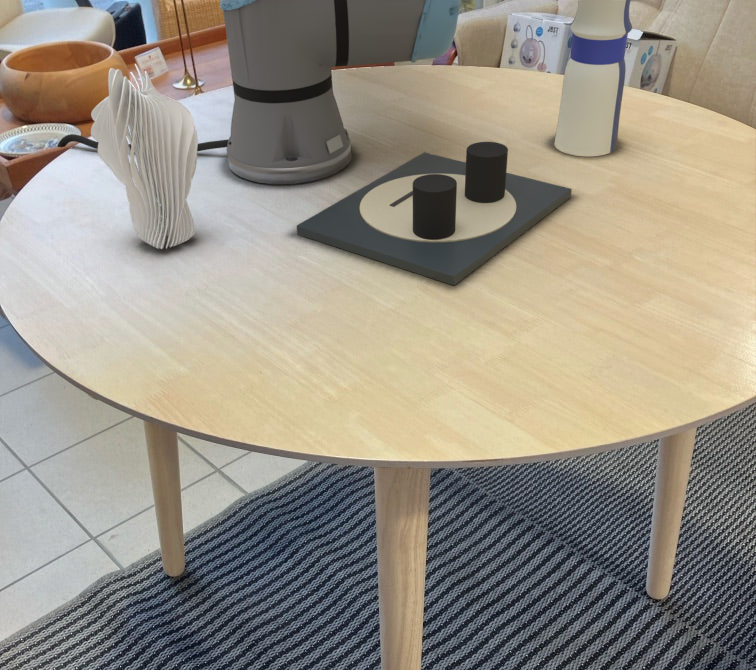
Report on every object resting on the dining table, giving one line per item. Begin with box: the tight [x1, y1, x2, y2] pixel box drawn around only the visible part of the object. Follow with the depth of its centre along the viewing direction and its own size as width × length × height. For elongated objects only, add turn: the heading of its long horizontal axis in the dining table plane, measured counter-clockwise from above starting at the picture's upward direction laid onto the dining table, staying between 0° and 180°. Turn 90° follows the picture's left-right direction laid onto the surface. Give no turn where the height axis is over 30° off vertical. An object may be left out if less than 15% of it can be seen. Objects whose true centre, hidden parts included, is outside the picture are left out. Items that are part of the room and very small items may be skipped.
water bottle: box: [553, 0, 633, 157], centre depth 99 cm, size 8×9×25 cm
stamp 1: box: [413, 174, 457, 240], centre depth 87 cm, size 4×4×5 cm
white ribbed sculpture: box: [90, 63, 199, 250], centre depth 85 cm, size 8×8×18 cm
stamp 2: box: [465, 141, 509, 203], centre depth 93 cm, size 4×4×5 cm
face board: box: [296, 151, 573, 286], centre depth 93 cm, size 20×24×1 cm
